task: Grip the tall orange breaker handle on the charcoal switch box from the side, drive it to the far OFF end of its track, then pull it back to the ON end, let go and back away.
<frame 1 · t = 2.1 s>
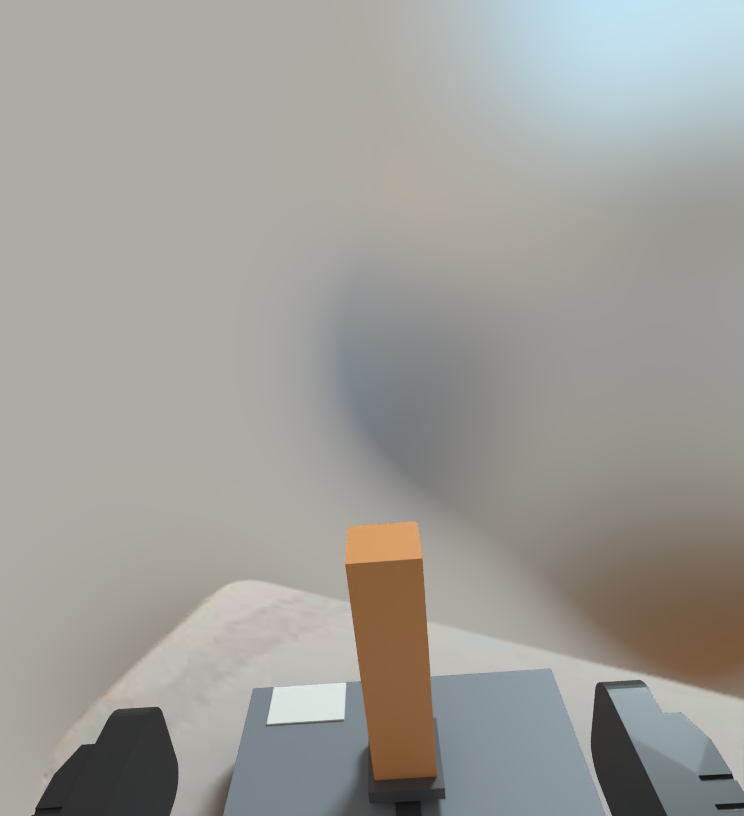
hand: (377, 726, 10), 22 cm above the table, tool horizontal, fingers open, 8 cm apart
breaker handle: (395, 664, 24), point 11 cm above the table, slide at 0.0 cm
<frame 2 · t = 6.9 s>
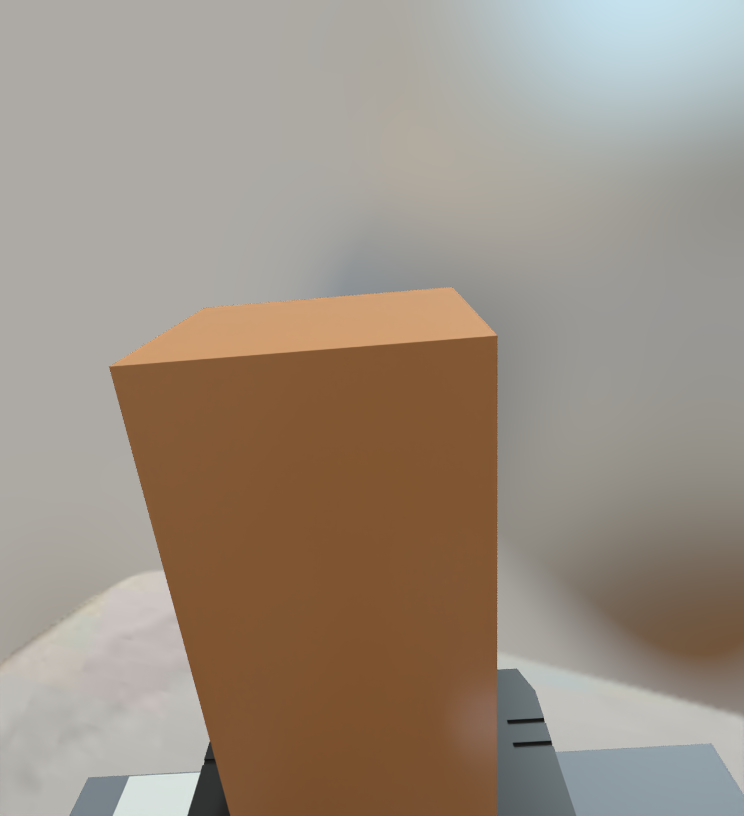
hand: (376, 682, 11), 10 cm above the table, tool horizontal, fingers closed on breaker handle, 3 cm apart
breaker handle: (373, 783, 8), point 11 cm above the table, slide at 0.0 cm, touching gripper
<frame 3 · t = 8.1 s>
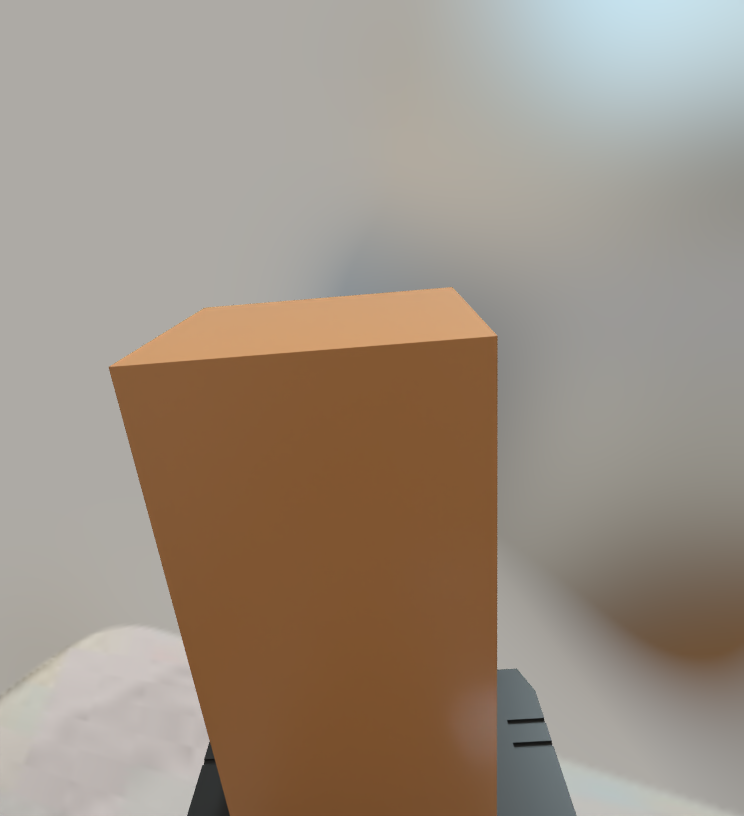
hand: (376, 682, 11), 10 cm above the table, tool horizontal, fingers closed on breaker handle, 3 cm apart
breaker handle: (373, 783, 8), point 11 cm above the table, slide at 4.4 cm, touching gripper
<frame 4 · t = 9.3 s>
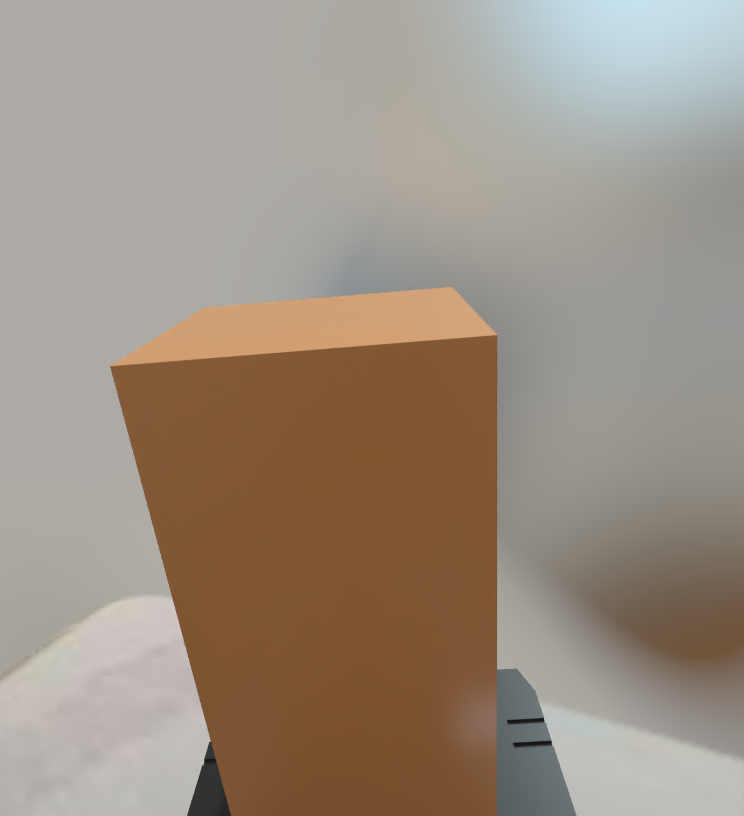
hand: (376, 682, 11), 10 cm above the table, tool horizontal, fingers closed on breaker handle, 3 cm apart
breaker handle: (373, 782, 8), point 11 cm above the table, slide at 2.1 cm, touching gripper
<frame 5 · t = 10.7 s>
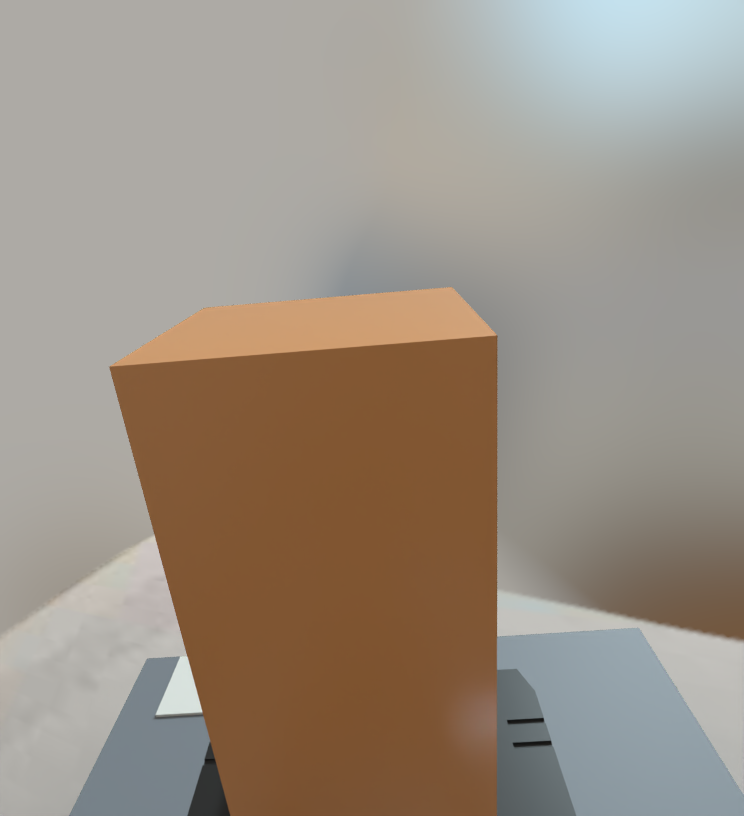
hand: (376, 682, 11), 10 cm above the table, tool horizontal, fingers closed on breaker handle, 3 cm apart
breaker handle: (373, 783, 8), point 11 cm above the table, slide at -4.4 cm, touching gripper
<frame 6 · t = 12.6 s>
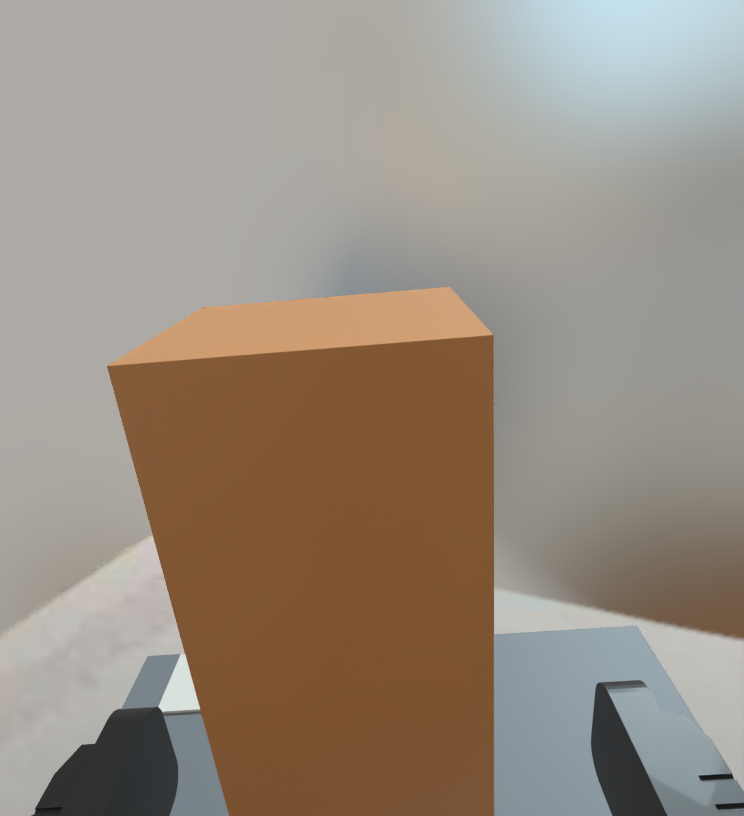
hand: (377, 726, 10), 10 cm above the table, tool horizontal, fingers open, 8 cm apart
breaker handle: (371, 782, 8), point 11 cm above the table, slide at -4.5 cm
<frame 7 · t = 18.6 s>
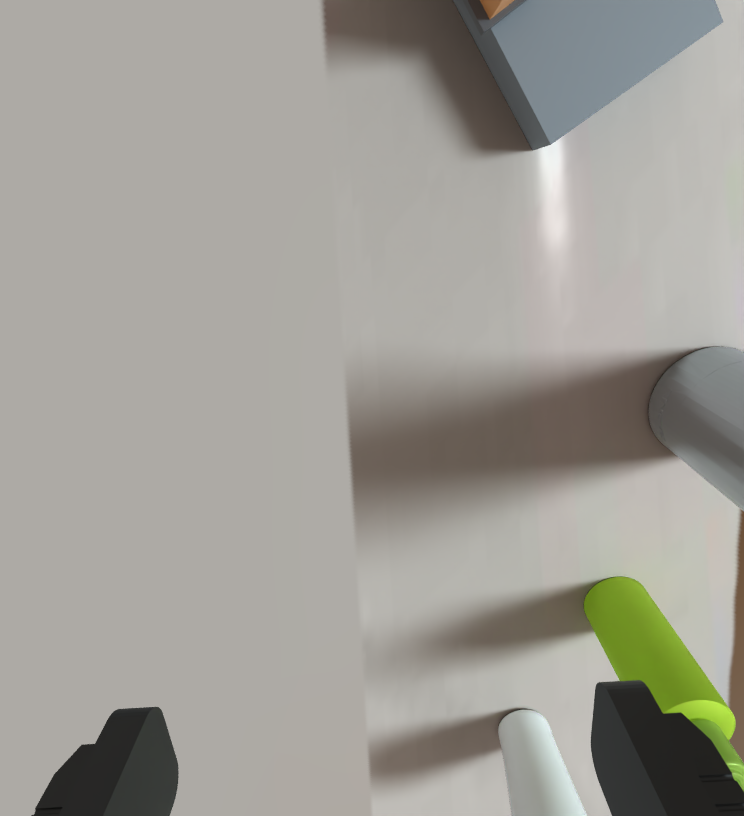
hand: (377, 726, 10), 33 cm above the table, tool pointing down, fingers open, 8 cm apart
drinking glass: (521, 723, 56), on the table
soap dispenser: (609, 603, 50), on the table
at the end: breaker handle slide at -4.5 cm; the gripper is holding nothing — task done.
